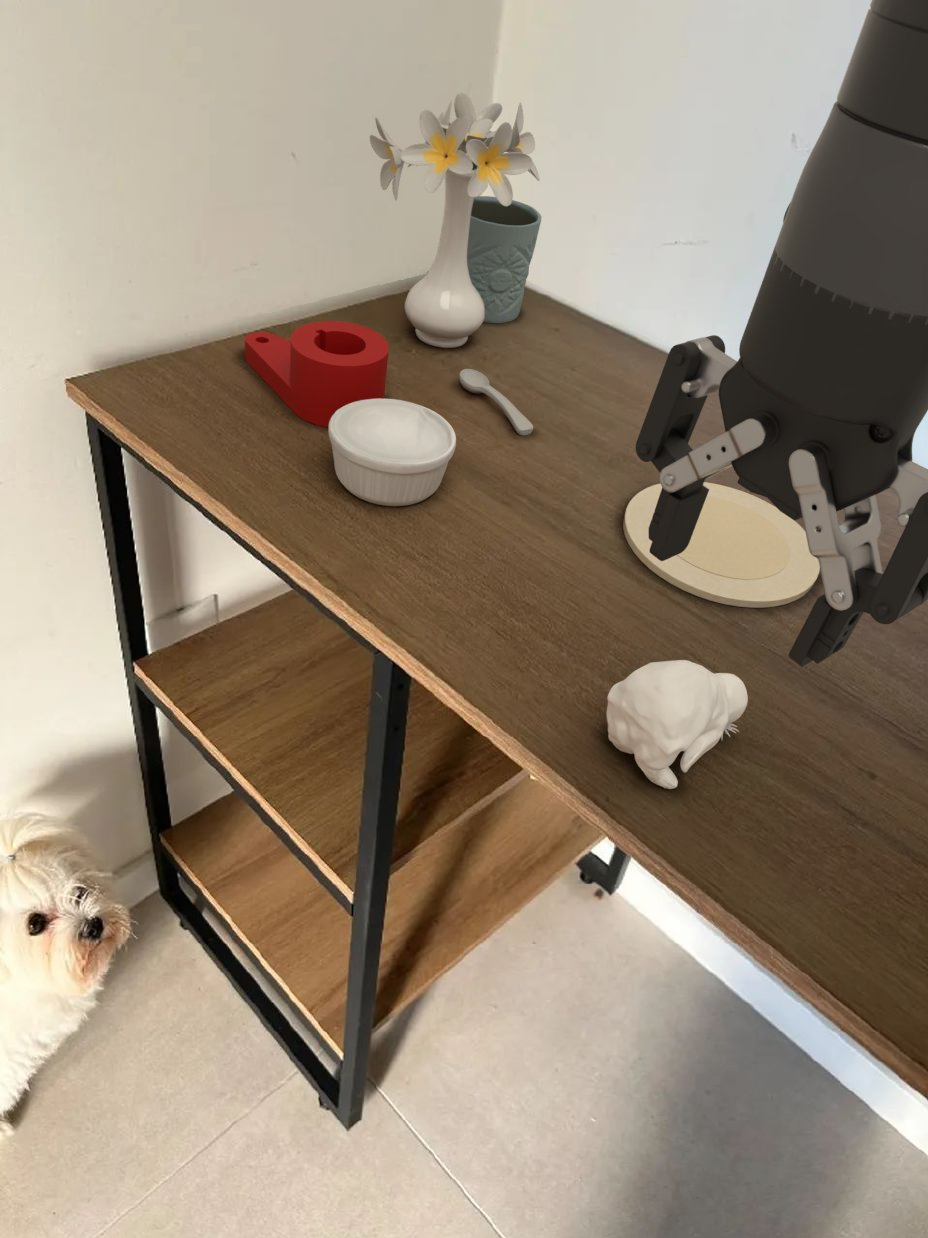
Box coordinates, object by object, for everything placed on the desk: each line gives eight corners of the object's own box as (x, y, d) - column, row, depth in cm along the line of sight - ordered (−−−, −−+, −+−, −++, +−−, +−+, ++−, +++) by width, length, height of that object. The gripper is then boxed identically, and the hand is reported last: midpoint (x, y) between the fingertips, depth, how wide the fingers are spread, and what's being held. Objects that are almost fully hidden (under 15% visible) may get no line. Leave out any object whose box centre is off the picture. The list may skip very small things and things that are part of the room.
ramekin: (471, 501, 85) (480, 451, 81) (360, 526, 79) (364, 474, 76) (412, 438, 91) (418, 389, 88) (307, 457, 86) (308, 407, 83)
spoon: (473, 377, 102) (477, 361, 101) (536, 437, 96) (540, 421, 95) (451, 381, 101) (454, 365, 99) (513, 443, 95) (517, 426, 93)
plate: (839, 540, 88) (843, 532, 88) (783, 638, 76) (787, 630, 76) (667, 466, 94) (670, 458, 94) (589, 546, 82) (592, 538, 81)
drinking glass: (499, 333, 112) (516, 232, 104) (428, 305, 115) (440, 205, 107) (537, 309, 119) (556, 212, 111) (470, 283, 122) (484, 188, 114)
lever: (402, 410, 95) (408, 349, 91) (334, 438, 89) (337, 375, 85) (285, 341, 103) (286, 282, 98) (215, 363, 97) (213, 301, 92)
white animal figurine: (615, 653, 58) (731, 608, 65) (576, 746, 64) (687, 695, 71) (689, 719, 55) (802, 663, 62) (641, 812, 60) (751, 751, 67)
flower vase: (341, 325, 108) (354, 83, 91) (471, 306, 117) (505, 83, 100) (399, 376, 100) (425, 124, 84) (533, 352, 109) (580, 119, 93)
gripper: (1117, 329, 32) (903, 665, 42) (784, 187, 39) (673, 503, 50) (1017, 370, 28) (808, 730, 38) (667, 203, 35) (574, 543, 46)
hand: (732, 601), depth 44 cm, fingers open, 8 cm apart
